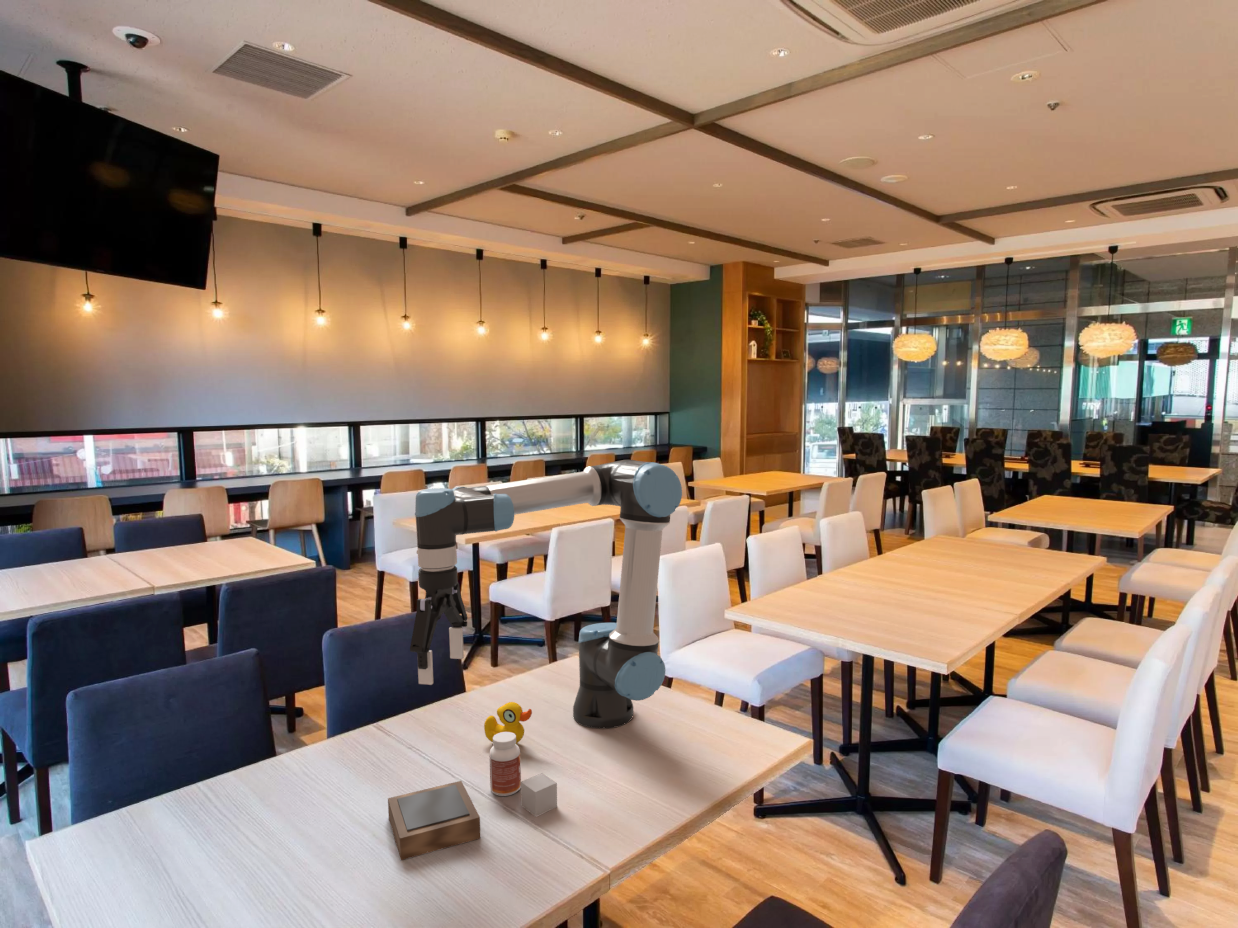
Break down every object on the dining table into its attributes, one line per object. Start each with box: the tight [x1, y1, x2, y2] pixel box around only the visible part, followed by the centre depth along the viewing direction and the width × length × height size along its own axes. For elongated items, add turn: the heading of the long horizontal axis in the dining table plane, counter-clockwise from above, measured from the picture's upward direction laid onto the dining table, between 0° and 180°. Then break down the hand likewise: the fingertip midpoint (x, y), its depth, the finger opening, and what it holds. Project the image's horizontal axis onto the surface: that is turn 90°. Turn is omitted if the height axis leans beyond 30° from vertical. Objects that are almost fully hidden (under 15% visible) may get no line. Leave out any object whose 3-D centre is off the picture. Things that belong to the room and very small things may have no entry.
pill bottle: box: [489, 732, 522, 797], centre depth 146 cm, size 6×6×11 cm
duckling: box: [483, 701, 533, 745], centre depth 165 cm, size 11×5×10 cm, turn 79°
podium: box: [387, 780, 481, 861], centre depth 133 cm, size 14×14×4 cm
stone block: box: [520, 772, 558, 817], centre depth 140 cm, size 5×5×5 cm
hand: (442, 670), depth 145 cm, fingers open, 13 cm apart
